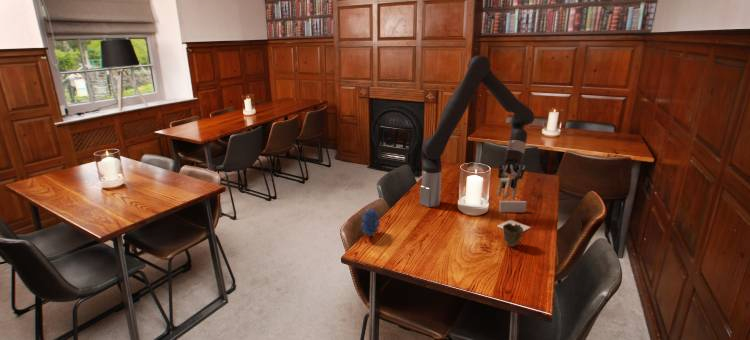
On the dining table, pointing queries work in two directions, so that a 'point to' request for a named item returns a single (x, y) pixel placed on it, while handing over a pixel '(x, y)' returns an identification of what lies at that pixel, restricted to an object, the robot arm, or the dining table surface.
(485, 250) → the dining table surface
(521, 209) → the block
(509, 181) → the stool
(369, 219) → the grapes
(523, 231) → the mat
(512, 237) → the cup
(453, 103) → the robot arm
